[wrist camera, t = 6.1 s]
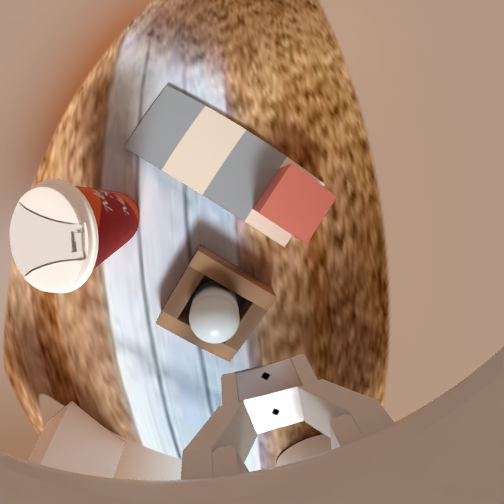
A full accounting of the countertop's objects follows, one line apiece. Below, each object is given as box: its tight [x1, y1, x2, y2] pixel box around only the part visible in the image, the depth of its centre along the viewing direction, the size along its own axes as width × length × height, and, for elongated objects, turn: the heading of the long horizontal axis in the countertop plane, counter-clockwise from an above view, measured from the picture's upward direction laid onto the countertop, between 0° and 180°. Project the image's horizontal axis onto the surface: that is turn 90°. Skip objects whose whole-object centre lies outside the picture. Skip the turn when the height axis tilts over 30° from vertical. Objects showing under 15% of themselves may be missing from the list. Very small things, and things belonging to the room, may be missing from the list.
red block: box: [253, 163, 337, 244], centre depth 25 cm, size 5×5×5 cm
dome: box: [189, 281, 240, 344], centre depth 26 cm, size 5×5×6 cm
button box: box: [156, 245, 276, 362], centre depth 28 cm, size 9×9×3 cm
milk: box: [28, 401, 126, 478], centre depth 20 cm, size 12×12×26 cm
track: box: [124, 85, 325, 247], centre depth 26 cm, size 20×8×1 cm, turn 57°
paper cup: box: [10, 179, 139, 293], centre depth 20 cm, size 8×8×14 cm
